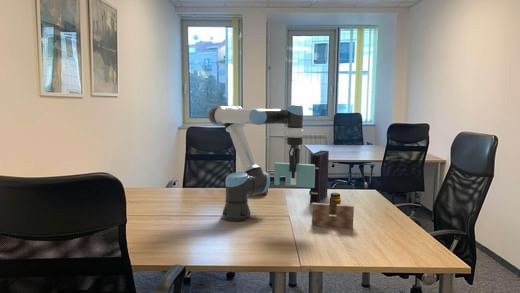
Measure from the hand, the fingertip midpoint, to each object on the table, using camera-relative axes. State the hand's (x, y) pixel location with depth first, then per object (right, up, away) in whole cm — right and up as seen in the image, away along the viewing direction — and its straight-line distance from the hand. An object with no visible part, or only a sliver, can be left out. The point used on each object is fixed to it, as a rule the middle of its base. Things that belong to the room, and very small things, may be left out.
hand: (294, 183), depth 189 cm
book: (+21, -15, +56) cm, 62 cm away
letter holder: (-22, -13, +70) cm, 74 cm away
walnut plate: (+19, -21, +1) cm, 28 cm away
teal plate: (0, -1, 0) cm, 1 cm away
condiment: (+23, -19, +20) cm, 36 cm away
